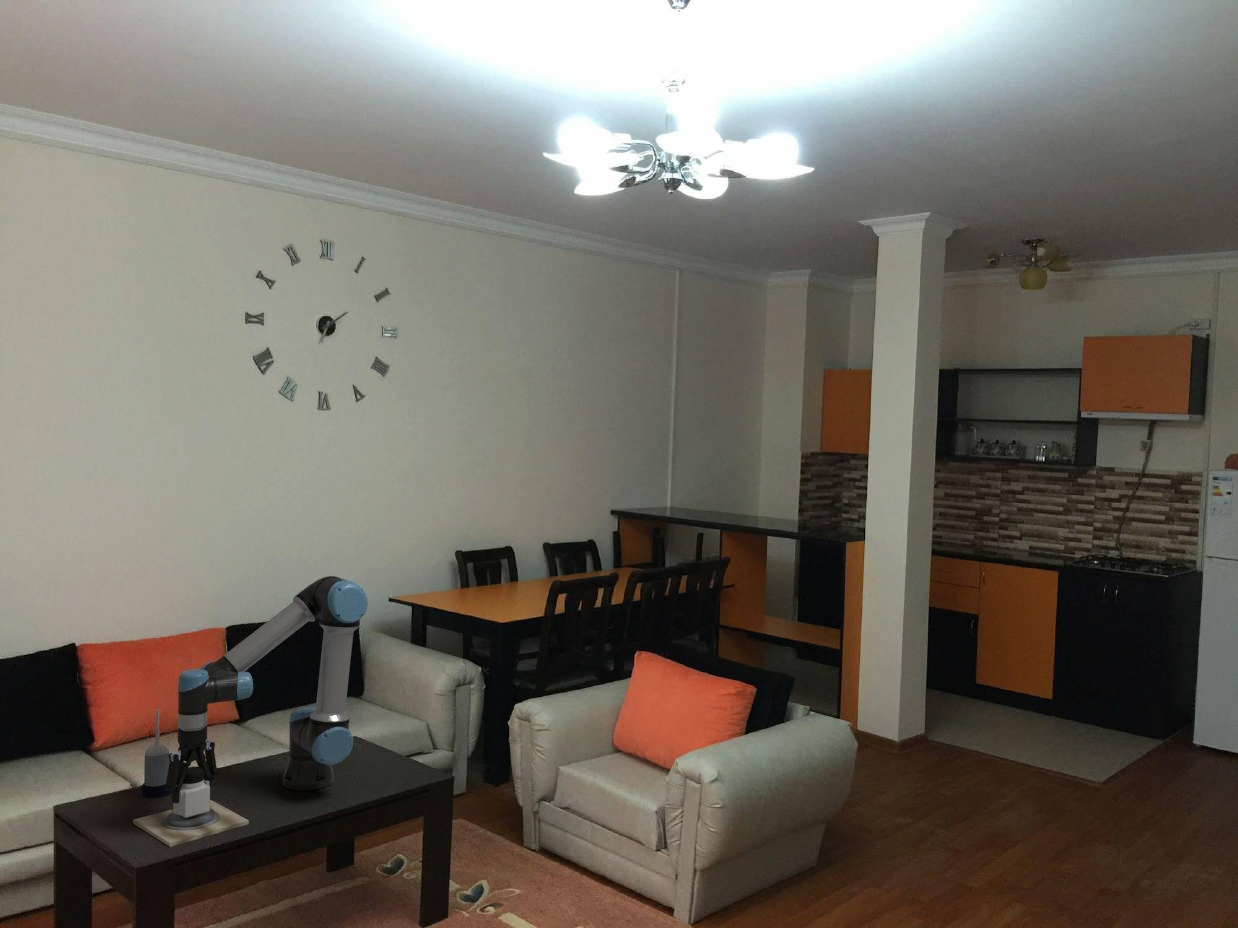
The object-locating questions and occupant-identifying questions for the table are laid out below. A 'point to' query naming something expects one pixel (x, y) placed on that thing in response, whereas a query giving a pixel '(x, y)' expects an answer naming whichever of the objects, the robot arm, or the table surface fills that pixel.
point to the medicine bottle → (195, 793)
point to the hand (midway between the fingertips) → (191, 808)
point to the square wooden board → (189, 824)
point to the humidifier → (156, 768)
